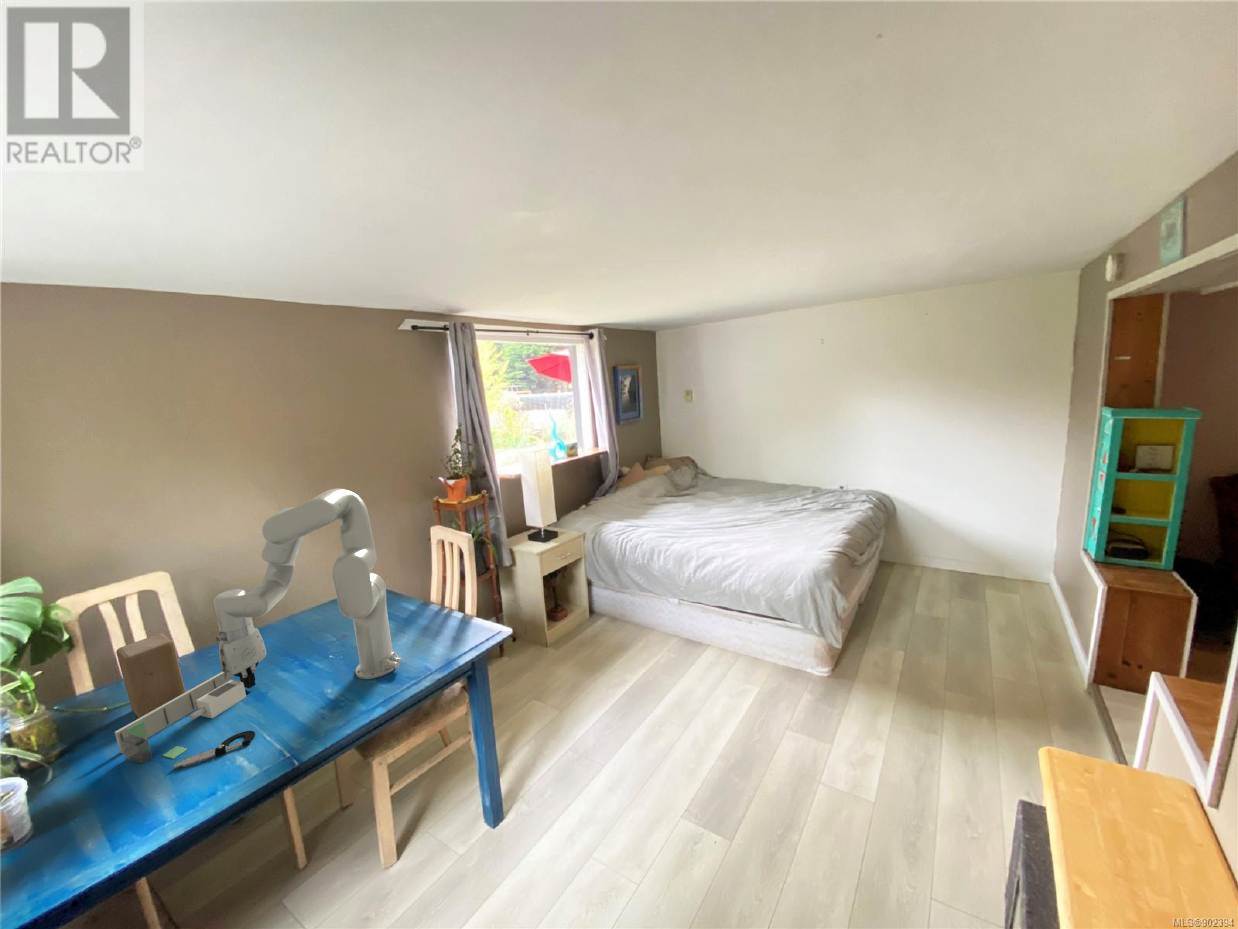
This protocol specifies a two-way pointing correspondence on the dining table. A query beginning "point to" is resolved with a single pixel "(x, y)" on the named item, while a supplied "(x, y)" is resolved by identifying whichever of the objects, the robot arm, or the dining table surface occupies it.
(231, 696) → the white slotted box
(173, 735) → the dining table surface
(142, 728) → the scale board
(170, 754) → the green flat block
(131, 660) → the wooden block
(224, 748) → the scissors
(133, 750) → the grey faceted block
